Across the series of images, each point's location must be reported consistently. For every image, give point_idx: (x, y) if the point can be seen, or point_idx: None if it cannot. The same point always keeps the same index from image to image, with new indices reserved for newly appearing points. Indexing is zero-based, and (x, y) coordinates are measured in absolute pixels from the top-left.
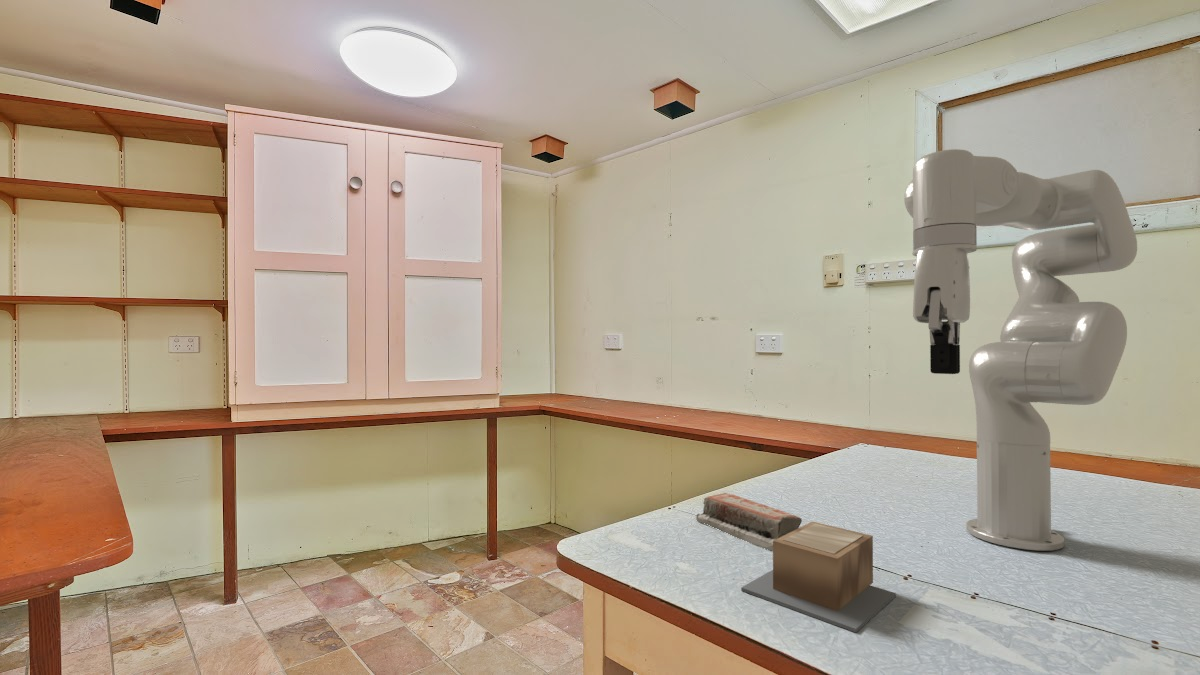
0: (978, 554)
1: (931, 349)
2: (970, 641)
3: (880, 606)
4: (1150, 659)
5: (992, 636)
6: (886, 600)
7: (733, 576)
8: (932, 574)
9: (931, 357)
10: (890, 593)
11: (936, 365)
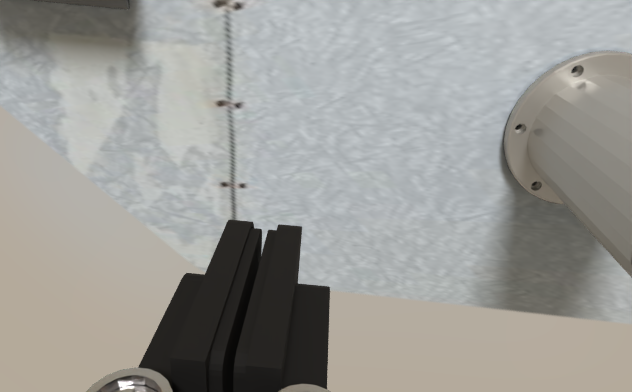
0: (435, 88)
1: (181, 331)
2: (78, 116)
3: (59, 2)
4: (191, 253)
5: (113, 135)
6: (88, 4)
7: None
8: (271, 38)
9: (202, 283)
10: (117, 2)
11: (183, 276)
